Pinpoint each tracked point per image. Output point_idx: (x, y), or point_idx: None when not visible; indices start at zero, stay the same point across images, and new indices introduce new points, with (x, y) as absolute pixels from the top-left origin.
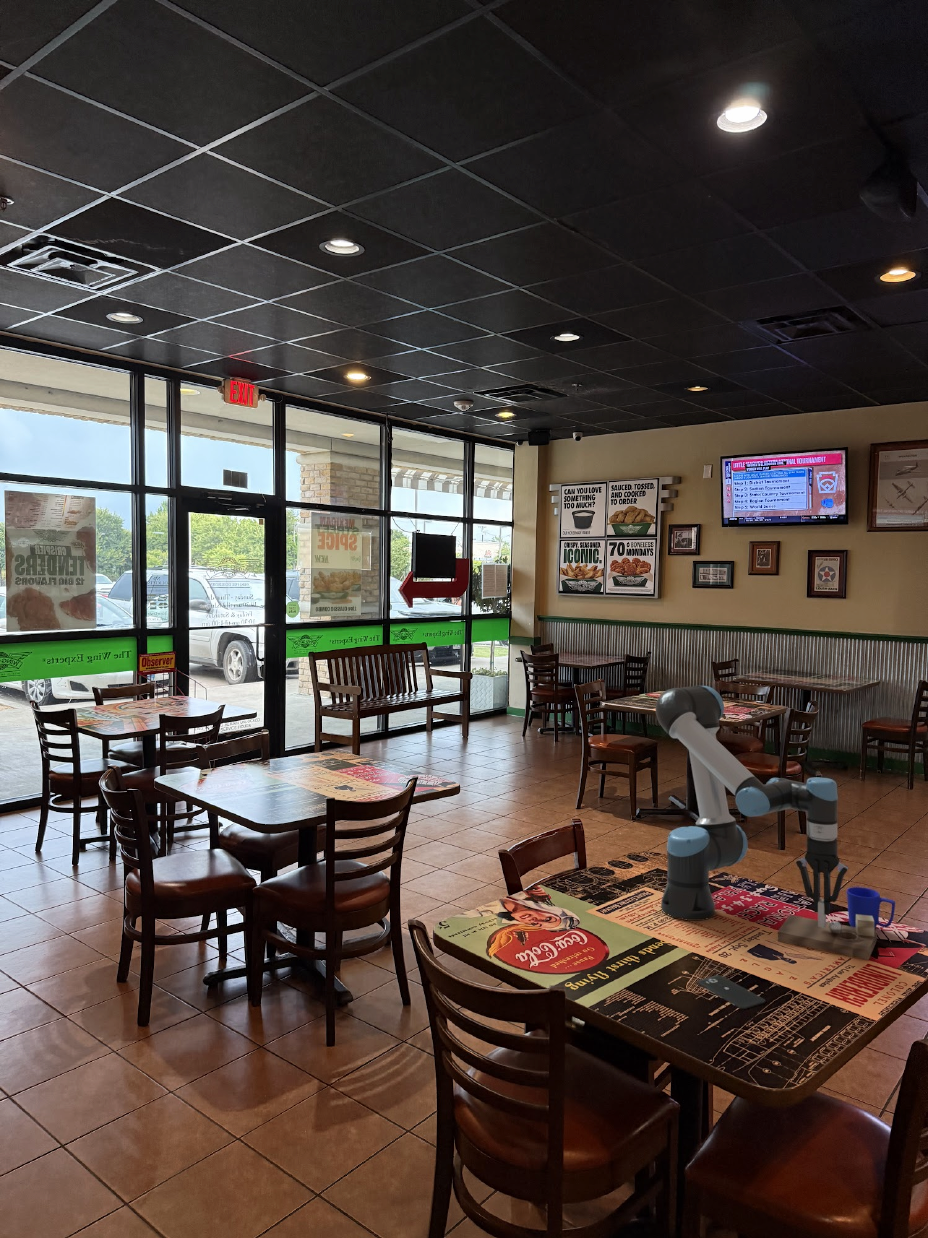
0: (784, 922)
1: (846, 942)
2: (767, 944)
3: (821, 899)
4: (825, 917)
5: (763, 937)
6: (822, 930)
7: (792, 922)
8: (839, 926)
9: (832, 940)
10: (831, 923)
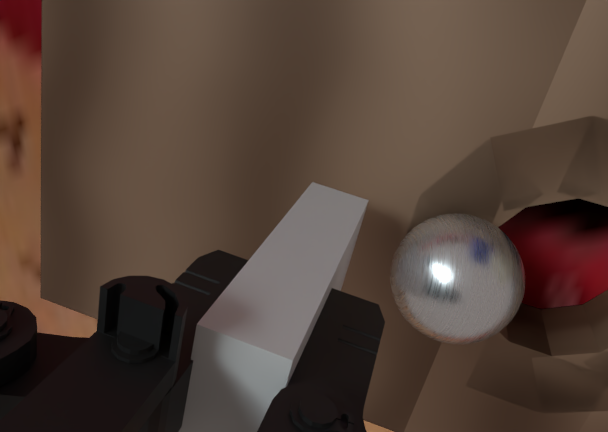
0: (41, 100)
1: (514, 418)
2: (45, 318)
3: (217, 343)
4: (344, 259)
5: (4, 224)
6: None
7: (96, 81)
8: (487, 338)
9: (404, 394)
10: (407, 313)
